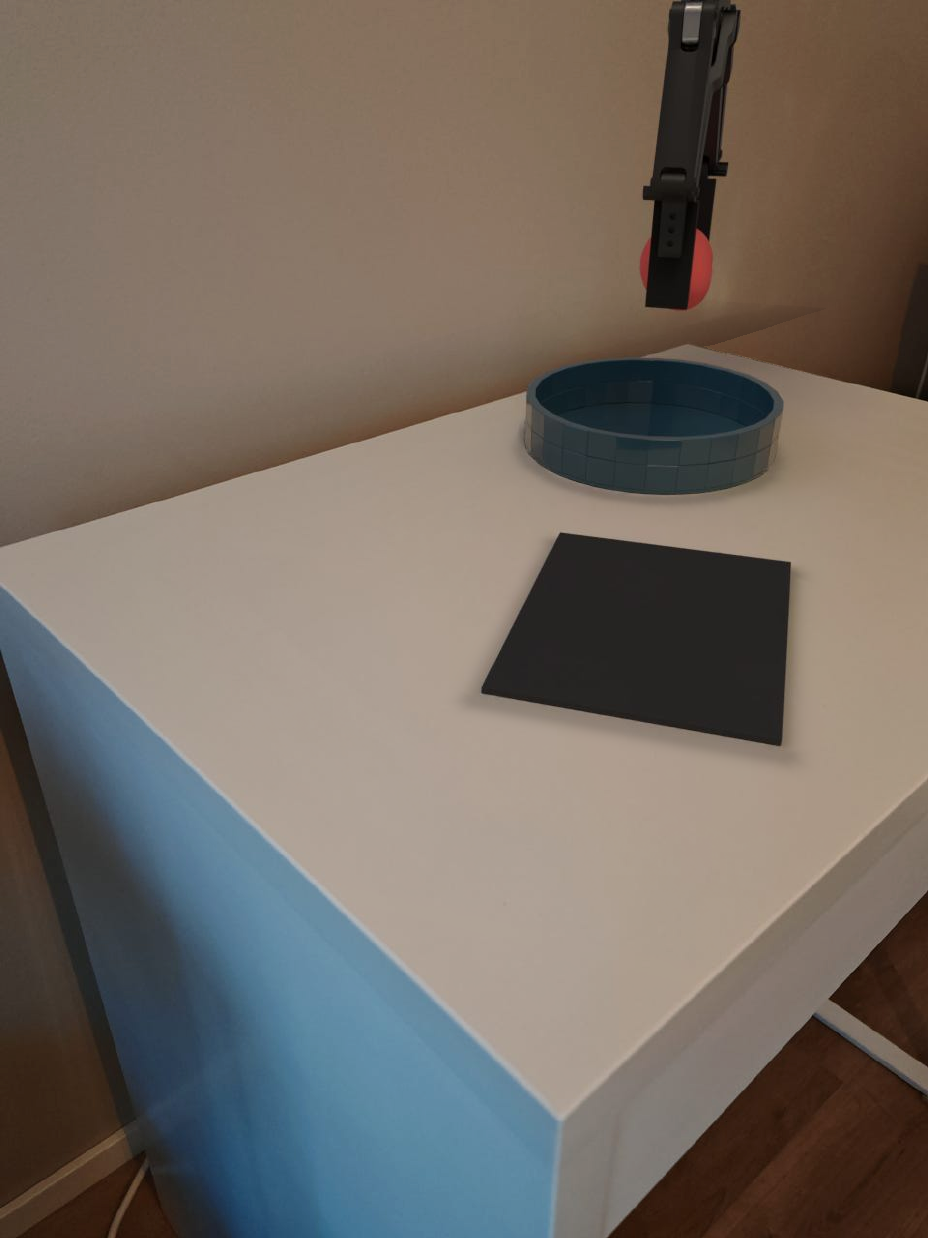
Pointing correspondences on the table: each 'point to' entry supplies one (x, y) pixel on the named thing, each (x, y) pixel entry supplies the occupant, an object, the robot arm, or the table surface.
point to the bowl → (652, 425)
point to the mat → (653, 637)
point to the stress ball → (699, 269)
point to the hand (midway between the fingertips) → (676, 289)
